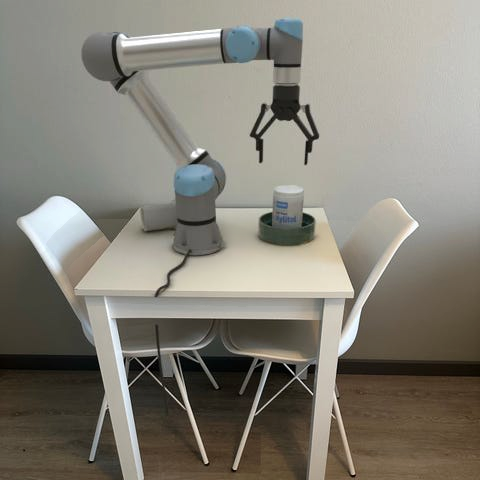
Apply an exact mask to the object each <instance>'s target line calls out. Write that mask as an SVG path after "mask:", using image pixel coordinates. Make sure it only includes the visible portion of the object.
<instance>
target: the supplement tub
mask: <svg viewBox="0 0 480 480" xmlns="http://www.w3.org/2000/svg"><path fill="white" fill-rule="evenodd" d="M304 191H305V190H304V188H303V187H301V186H299V185H293V184H291V185H289V184H286V185H285V184H283V185H278V186H275V187H274V188H273V193H272V211H271V212H272V227H275V228H283V229H292V228H301V227H302V215H303V212H304V199H305V193H304Z"/></svg>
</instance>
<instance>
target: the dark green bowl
mask: <svg viewBox="0 0 480 480" xmlns="http://www.w3.org/2000/svg"><path fill="white" fill-rule="evenodd" d="M316 221H317V220H316V217H314V216H313V215H312V214H310V213H307V212H304V211H303V215H302V227H301V228H292V229H283V228H275V227H272V211H269V212H266V213H263V214H261V215H260V216H259V217H258V237H259V238H260V239H261V240H263V241H264V242H267V243H270V244H275V245H288V246H290V245H300V244H305V243H308V242H310V241H311V240H313V239H314V238H315V236H316Z"/></svg>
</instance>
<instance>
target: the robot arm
mask: <svg viewBox="0 0 480 480" xmlns="http://www.w3.org/2000/svg"><path fill="white" fill-rule="evenodd" d="M303 34H304V22H303V21H302V19H300V18H277V19H275V21H274V25H273V26H272V27H250V26H247V25H240V26H239V25H238V26H236V27H228V28H218V29H217V28H216V29H207V30H206V29H205V30H196V31H185V32H176V33H165V34H164V33H163V34H156V35H155V34H154V35H144V36H132V37H131V36H130V35H128V34H125V33H124V32H121V31H120V32H119V31H113V32H103V31H101V32H100V31H98V32H94V33H92V34H90V35H89V36H87V38H86V39H85V40H84V41H83V43H82V45H81V46H82V47H81V51H80V52H81V53H80V54H81V55H80V56H81V61H82V64H83V67H84V68H85V70H86V71H87V72H88V74H89V75H91V77H93V78H95V80H98V81H102V82H109V83H110V84H111V86H112V87H113V89H114V90H115V91H116V92H117V94H119V95H124V96H126V98H127V99H128V100H129V101H130V103H131V104H132V106H133V107H134V108H135V109H136V112H138V114H139V115H140V117H141V118H142V119H143V121H144V122H145V123H146V125H147V127H149V129H150V130H151V132H152V134H153V135H154V136H155V137H156V138H157V140H158V141H159V143H160V144H161V146H162V147H163V148H164V150H165V151H166V152H167V154H168V155H169V156H170V158H171V159H172V160H173V162H174V164H175V165H176V170H175V171H174V173H173V189H174V198H175V200H176V211H177V222H178V223H177V228H176V229H175V231H174V234H173V236H174V237H173V250H174V251H175V252H177V253H179V254H181V255H185V256H184V257H183V259H182V261H181V262H180V264H178V265H177V266H174V267H173V268H172V269H170V270H169V271H168V273H167V274H166V280H167V282H166V283H165V284H164V285H161V286H159V287H158V288H157V290H156V291H155V294H154V298H158V297H159V293H160V291H162V290H163V289H166V288H167V287H169V286H170V284H171V274H173V273H174V272H175V271H176V270H179V269H180V268H181V267H183V266H184V264H185V263H186V261H187V259H188V257H189V256H193V257H194V256H207V255H211V254H215V253H217V252H219V251H220V250H222V249H223V247H224V240H223V236H222V234H221V230H220V228H219V224H218V222H217V211H216V210H217V208H216V200H217V199H218V197H219V196H220V195H221V194H222V192H223V191H224V189H225V187H226V182H227V173H226V170H225V168H224V166H223V165H222V164H221V163H220V161H217V160H216V159H214V158H213V157H212V156H211V155H210V153H209V152H208V151H207V149H206V148H200V147H199V146H198V145H197V143H196V142H195V140H194V139H193V138H192V136H191V135H190V133H189V132H188V130H187V129H186V127H185V126H184V125H183V123H182V122H181V121H180V119H179V118H178V116H177V115H176V113H175V112H174V110H173V108H172V107H171V106H170V104H168V102H167V100H166V99H165V97H164V96H163V94H162V93H161V92H160V90H159V88H157V86H156V85H155V83H154V82H153V80H152V79H151V78H150V71H153V70H154V71H155V70H164V69H177V68H188V67H200V66H210V65H211V66H212V65H213V66H214V65H222V64H223V65H224V64H236V63H237V64H245V63H250V62H251V61H273V70H272V71H273V72H272V83H273V84H274V85H273V86H272V101H271V104H270V103H266V102H263V103H261V106H260V111H259V113H258V117H257V119H256V120H255V122H254V124H253V126H252V129H251V131H250V132H249V137H250V138H252V139H254V140H255V151H256V152H258V164H262V163H263V162H264V138H262V137H263V136H264V135H265V133H266V132H267V131H268V130H269V128H270V127H271V126H272V125H273V123H274V122H275V121H276V120H278V122H283V121H286V122H291V121H293V123H295V125H297V127H298V129H299V130H300V131H301V132H302V134H303V135H304V137H305V138H306V140H305V147H304V148H305V149H304V161H303V165H304V166H307V165H308V163H309V162H308V161H309V154H312V152H313V145H314V141H316V140H319V139H320V133H319V130H318V128H317V125H316V123H315V120H314V118H313V115H312V113H311V104H310V103H306V104H300V94H301V93H300V92H301V89H300V88H301V87H300V85H299V84H300V83H301V74H302V73H301V72H302V54H303V43H304V37H303V36H304V35H303ZM269 110H271V112H272V113H273V115H272V116H271V118H270V119H269V120H268V121H267V122H266V123H265V125H264V126H263V127H262V128H261V129H260V131H259V132H258V130H259V128H260V125H261V123H262V121H263V119H264V117H265V115H266V113H267V112H268V111H269ZM300 110H301V111H302V113H304V114H305V117H306V119H307V122H308V124H309V127H310V130H311V132H312V134H313V135H312V134H311V132H310V131H309V130H308V128H307V127H306V125H305V124H304V122H303V121H302V119H301V118H300V116H299V114H298V113H299V112H300ZM257 132H258V133H257ZM154 326H155V327H154V328H155V340H156V351H157V359H158V360H157V361H158V366H159V374H160V382H161V388H162V393H163V394H162V395H163V402H164V411H165V416H166V417H169V410H168V400H167V394H166V386H165V378H164V372H163V371H164V370H163V364H162V356H161V346H160V337H159V335H160V333H159V324H155V325H154Z"/></svg>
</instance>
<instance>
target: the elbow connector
mask: <svg viewBox="0 0 480 480" xmlns="http://www.w3.org/2000/svg"><path fill="white" fill-rule="evenodd" d="M139 211H140V213H139V214H140V219H141V224H142V228H143V230H144V232H152V231H158V230H164V229H171V228H172V229H174V230H176V228H177V223H178V222H177V211H176V200H175V197H174V198H173V199H172V201H168V202H161V203H152V204H145V205H140V208H139Z"/></svg>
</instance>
